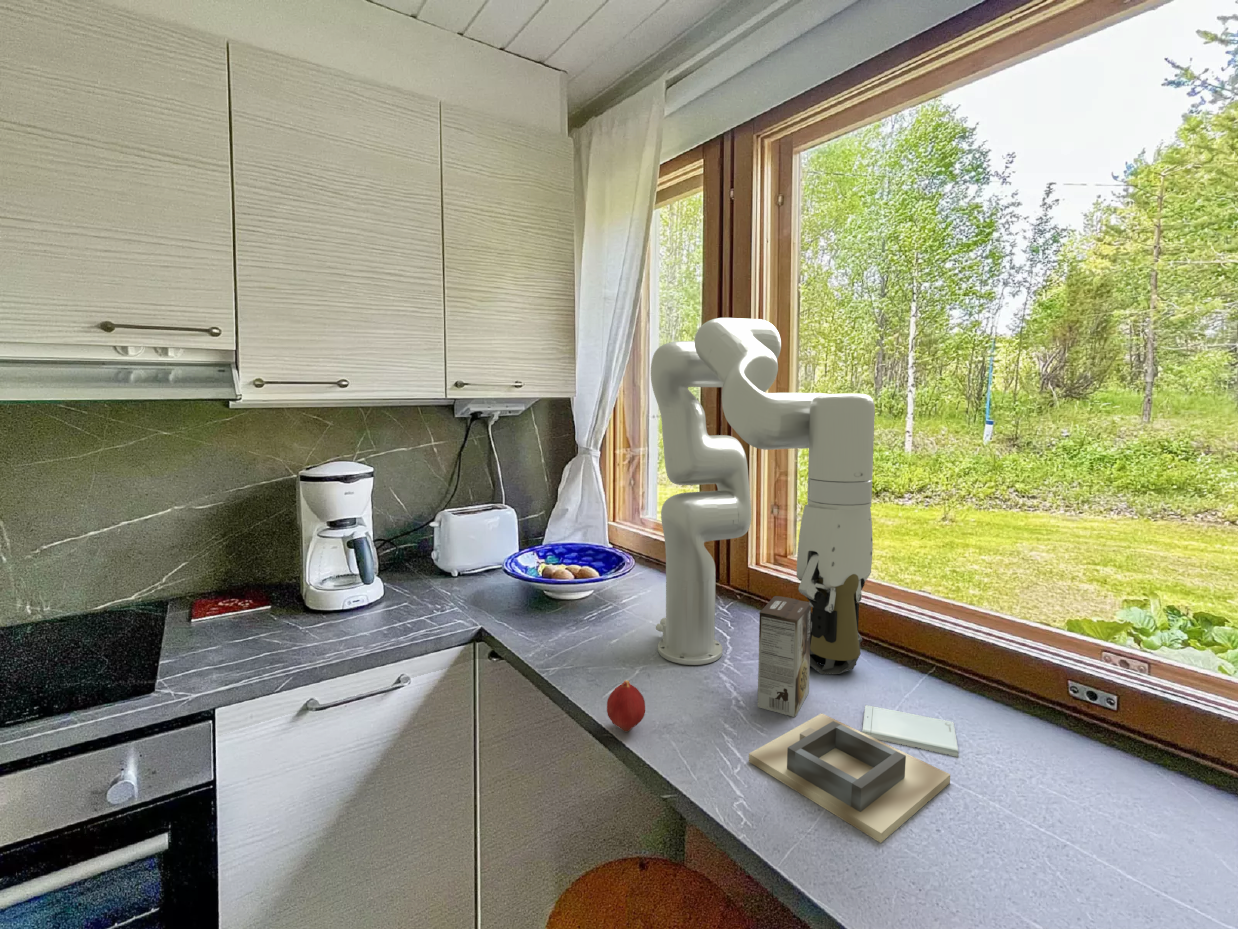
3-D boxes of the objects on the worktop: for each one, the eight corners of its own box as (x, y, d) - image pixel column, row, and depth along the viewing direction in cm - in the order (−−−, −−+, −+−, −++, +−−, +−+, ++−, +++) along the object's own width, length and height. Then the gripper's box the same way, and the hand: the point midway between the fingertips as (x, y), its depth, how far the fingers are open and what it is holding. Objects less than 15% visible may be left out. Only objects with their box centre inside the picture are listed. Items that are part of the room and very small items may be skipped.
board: (748, 761, 82) (749, 732, 81) (821, 720, 92) (822, 694, 92) (880, 843, 67) (882, 808, 66) (949, 783, 77) (951, 752, 77)
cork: (857, 643, 79) (860, 562, 77) (862, 663, 73) (865, 575, 72) (809, 639, 80) (811, 559, 79) (810, 657, 74) (812, 571, 73)
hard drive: (953, 720, 90) (865, 703, 95) (958, 750, 83) (862, 728, 88) (953, 731, 90) (864, 712, 96) (957, 761, 83) (861, 739, 88)
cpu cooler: (800, 672, 108) (802, 619, 107) (798, 659, 114) (800, 608, 112) (861, 679, 106) (863, 624, 105) (856, 665, 111) (858, 612, 110)
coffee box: (772, 684, 104) (774, 594, 102) (809, 693, 101) (813, 601, 99) (755, 707, 96) (757, 611, 94) (795, 718, 93) (798, 618, 91)
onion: (601, 724, 92) (601, 674, 91) (636, 717, 94) (636, 668, 93) (614, 744, 86) (614, 692, 85) (651, 736, 88) (651, 685, 87)
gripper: (850, 484, 82) (846, 612, 84) (771, 496, 72) (768, 641, 74) (903, 490, 76) (897, 628, 78) (825, 504, 66) (820, 662, 68)
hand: (834, 633), depth 76 cm, fingers closed on cork, 4 cm apart
